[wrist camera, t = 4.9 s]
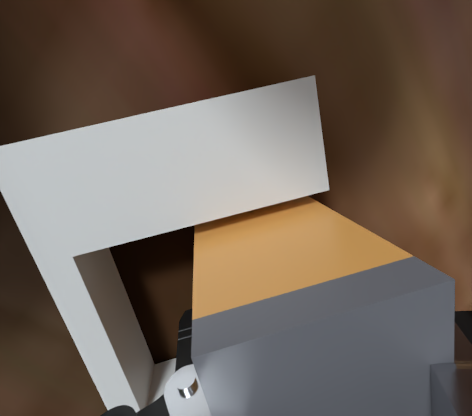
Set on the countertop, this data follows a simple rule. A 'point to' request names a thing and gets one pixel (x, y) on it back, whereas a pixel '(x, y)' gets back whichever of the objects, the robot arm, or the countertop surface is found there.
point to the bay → (151, 205)
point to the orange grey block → (314, 316)
